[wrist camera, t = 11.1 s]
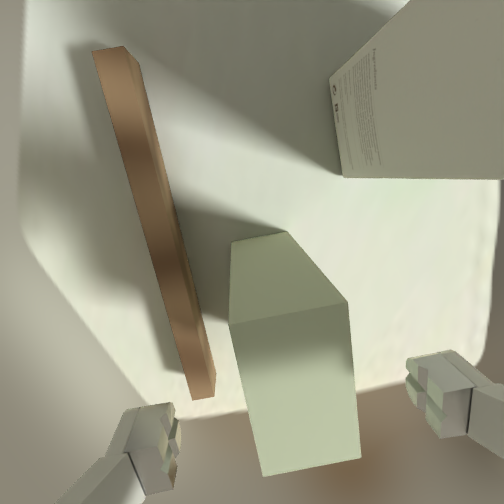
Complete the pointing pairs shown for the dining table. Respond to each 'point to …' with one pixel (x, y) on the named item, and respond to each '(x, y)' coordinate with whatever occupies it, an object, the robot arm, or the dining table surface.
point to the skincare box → (425, 95)
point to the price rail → (156, 212)
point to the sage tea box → (292, 355)
